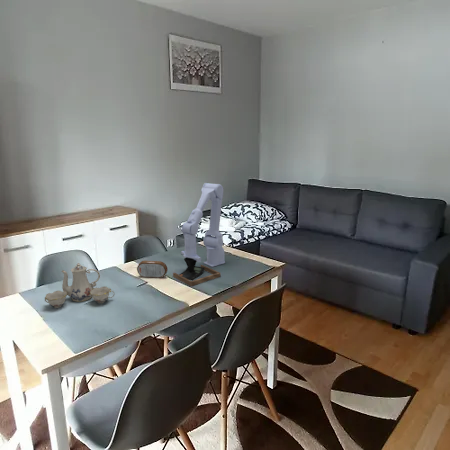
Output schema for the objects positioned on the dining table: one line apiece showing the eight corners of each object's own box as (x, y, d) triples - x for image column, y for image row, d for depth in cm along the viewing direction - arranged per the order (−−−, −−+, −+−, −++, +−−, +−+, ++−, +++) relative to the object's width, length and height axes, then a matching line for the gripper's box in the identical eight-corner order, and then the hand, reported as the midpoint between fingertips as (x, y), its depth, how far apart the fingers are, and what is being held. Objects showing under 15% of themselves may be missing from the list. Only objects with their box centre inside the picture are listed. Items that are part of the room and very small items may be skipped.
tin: (168, 276, 185) (167, 260, 183) (166, 278, 182) (165, 262, 180) (138, 275, 187) (137, 259, 185) (136, 277, 184) (135, 262, 181)
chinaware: (43, 317, 149) (37, 280, 143) (48, 296, 163) (42, 262, 158) (115, 306, 157) (112, 272, 151) (113, 287, 172) (111, 255, 166)
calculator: (176, 277, 184) (176, 272, 184) (189, 269, 194) (189, 264, 194) (192, 281, 180) (192, 275, 179) (204, 273, 190) (204, 267, 189)
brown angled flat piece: (202, 268, 196) (201, 264, 195) (220, 276, 184) (220, 272, 184) (173, 276, 185) (173, 273, 184) (191, 286, 173) (190, 282, 173)
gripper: (175, 244, 187) (176, 269, 190) (192, 251, 176) (193, 277, 180) (187, 241, 191) (188, 266, 195) (204, 248, 181) (204, 273, 184)
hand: (191, 271), depth 188 cm, fingers closed
